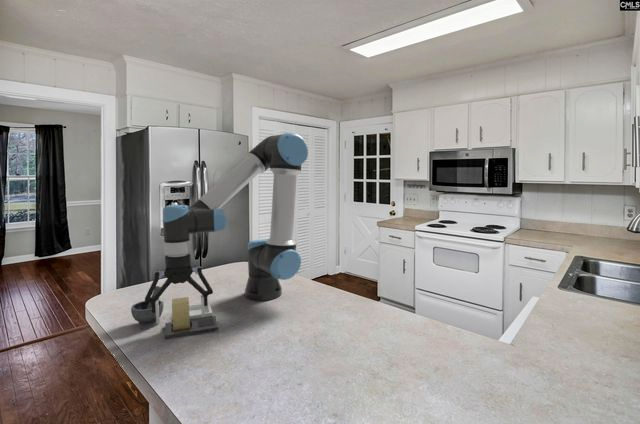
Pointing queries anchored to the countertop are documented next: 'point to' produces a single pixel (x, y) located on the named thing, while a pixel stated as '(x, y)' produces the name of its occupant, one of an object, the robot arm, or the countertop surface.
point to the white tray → (199, 311)
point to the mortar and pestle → (146, 312)
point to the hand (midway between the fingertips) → (181, 318)
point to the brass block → (180, 314)
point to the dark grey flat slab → (193, 327)
